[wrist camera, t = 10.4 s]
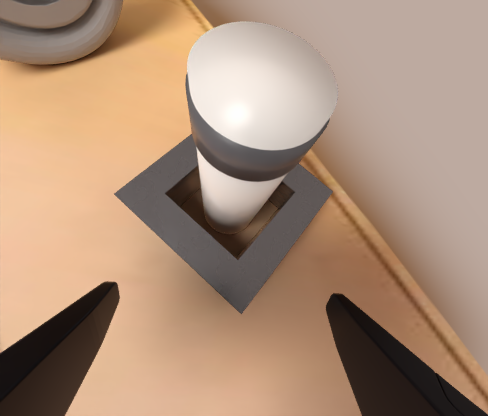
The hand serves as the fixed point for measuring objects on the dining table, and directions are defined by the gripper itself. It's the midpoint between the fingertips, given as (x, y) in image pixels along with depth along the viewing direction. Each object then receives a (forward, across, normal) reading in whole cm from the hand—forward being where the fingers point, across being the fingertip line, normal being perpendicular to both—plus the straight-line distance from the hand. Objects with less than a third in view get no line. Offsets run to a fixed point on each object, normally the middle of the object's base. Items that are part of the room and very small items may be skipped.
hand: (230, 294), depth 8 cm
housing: (+10, 0, +1) cm, 10 cm away
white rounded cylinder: (+10, 0, +1) cm, 10 cm away
